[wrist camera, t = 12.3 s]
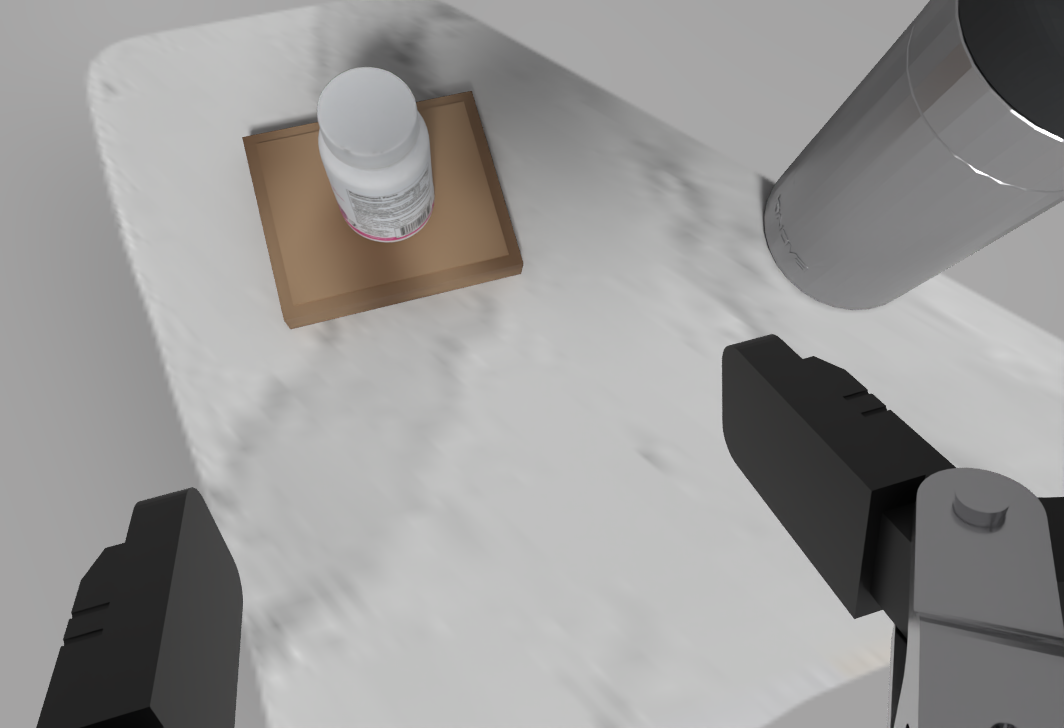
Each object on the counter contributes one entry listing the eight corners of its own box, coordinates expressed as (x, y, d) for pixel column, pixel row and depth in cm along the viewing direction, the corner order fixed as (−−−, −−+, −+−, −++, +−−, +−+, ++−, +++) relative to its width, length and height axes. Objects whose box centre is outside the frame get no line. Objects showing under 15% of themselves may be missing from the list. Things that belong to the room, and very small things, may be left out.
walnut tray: (471, 106, 43) (471, 89, 42) (521, 273, 41) (523, 262, 40) (250, 152, 41) (241, 135, 40) (290, 329, 39) (283, 319, 38)
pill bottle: (338, 159, 40) (306, 56, 32) (432, 157, 40) (425, 55, 32) (339, 247, 39) (306, 164, 31) (437, 243, 39) (430, 161, 31)
